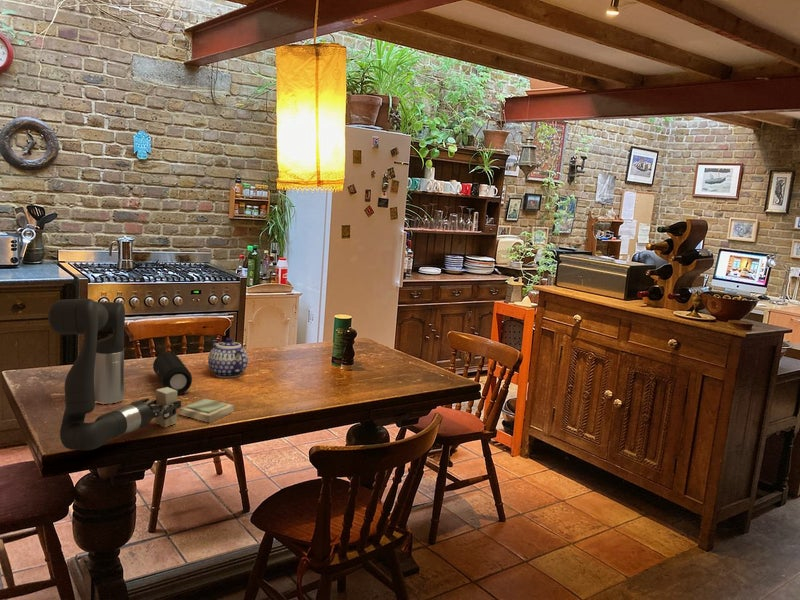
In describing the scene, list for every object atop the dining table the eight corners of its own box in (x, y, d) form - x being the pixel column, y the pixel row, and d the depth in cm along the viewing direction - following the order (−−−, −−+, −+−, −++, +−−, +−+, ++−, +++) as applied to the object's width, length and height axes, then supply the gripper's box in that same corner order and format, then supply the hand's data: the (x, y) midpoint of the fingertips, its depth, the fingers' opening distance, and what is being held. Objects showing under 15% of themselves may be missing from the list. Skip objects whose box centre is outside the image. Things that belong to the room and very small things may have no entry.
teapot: (260, 380, 248) (261, 343, 246) (223, 385, 239) (225, 347, 236) (230, 363, 267) (232, 329, 264) (196, 368, 257) (197, 332, 255)
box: (154, 424, 197) (154, 389, 195) (166, 420, 201) (167, 386, 199) (165, 428, 195) (165, 393, 193) (177, 424, 198) (178, 390, 196)
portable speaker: (151, 377, 243) (152, 351, 241) (179, 375, 248) (179, 349, 246) (164, 398, 221) (164, 370, 219) (193, 395, 226) (194, 367, 224)
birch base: (179, 415, 206) (179, 406, 205) (204, 405, 217) (204, 396, 216) (209, 423, 201) (209, 414, 201) (233, 412, 212) (233, 403, 212)
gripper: (149, 410, 180) (191, 394, 196) (111, 400, 186) (154, 385, 201) (149, 435, 181) (190, 418, 197) (111, 425, 187) (154, 408, 202)
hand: (172, 401), depth 199 cm, fingers closed on box, 5 cm apart
